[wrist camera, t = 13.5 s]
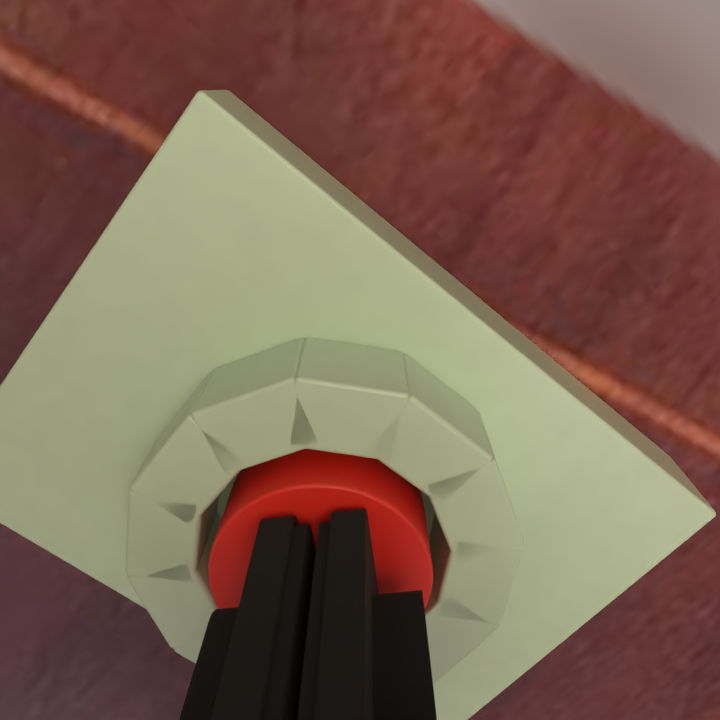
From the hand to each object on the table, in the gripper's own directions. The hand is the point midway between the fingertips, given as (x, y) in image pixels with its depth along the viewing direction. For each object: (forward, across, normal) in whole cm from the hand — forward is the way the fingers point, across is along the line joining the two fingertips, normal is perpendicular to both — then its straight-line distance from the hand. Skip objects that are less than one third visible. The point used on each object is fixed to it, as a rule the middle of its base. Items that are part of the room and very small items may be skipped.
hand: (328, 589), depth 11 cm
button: (+2, 0, 0) cm, 2 cm away
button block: (+4, 0, 0) cm, 5 cm away
